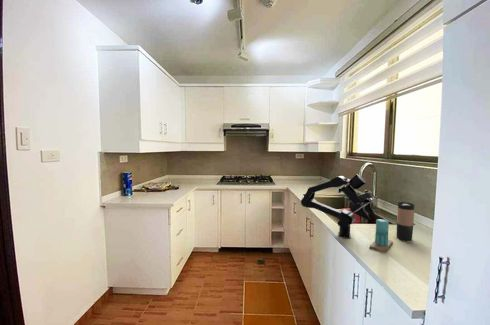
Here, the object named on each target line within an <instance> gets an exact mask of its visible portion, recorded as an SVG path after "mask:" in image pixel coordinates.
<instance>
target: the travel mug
mask: <svg viewBox="0 0 490 325" xmlns="http://www.w3.org/2000/svg"><path fill="white" fill-rule="evenodd" d="M414 219H415V204H414V203H410V202H403V201H402V202H398V203H397V214H396V239H398V240H400V241H403V242H411V241H413V233H414V224H415V223H414V221H415V220H414Z"/></svg>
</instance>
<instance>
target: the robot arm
mask: <svg viewBox="0 0 490 325" xmlns="http://www.w3.org/2000/svg"><path fill="white" fill-rule="evenodd" d="M366 184H367V181H366V180H365V178H364V177H362V176H361V175H359V174H357V173H356V174H355V175H354V176H352V178H350V179H349V178H346V177H345V176H344V175H339V176H336V177H334V178H331V179H330V180H329V181H326V182H324V183H320V184H318V185H313V186H309V187H308V188H307V190H306V192H305V194H304V195H303V197H302V198H301V200H300V204H301V206H302V207H303V208H307V209H308V208H309V209H316V210H318V211H320V212H322V213H325V214H327V215H329V216H332V217H334V218H336V219H337V220H338V221H337V226H338V227H339V230H338V231H337V232H338V237H340V238H346V239H351V238H352V235H351V225H352V224H353V223H355V221H356V215H357V216H359V217H361V218H363V219H365V220H366V221H370V220H371V217H370V216H372V217H374V218H375V217H376V213H375V210H374V209H373V207H372V204H373V203H372V198H374V196H373V192H372V191H370V190H369V189H367V190H365V191H364V192H363V193H360V192H357V191H356V190H359V189H361V188H362V187H364V186H365V185H366ZM330 188H338V194H340V193H343V194H344V196H346V198H347V201H348V202H351V204H353V205H352V206H351V207H350V208H349V210H348V209H345V208H343V209H342V210H338V209H336V208H333V207H331V206H329V205H326V204H324V203H322V202H319V201H318V200H316V198H315V194H316V192H319V191H323V190H326V189H330ZM368 214H369V215H370V216H369V215H368Z"/></svg>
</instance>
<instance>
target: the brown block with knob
mask: <svg viewBox="0 0 490 325" xmlns="http://www.w3.org/2000/svg"><path fill="white" fill-rule="evenodd" d="M393 242H394V241H393V240H391V239H388V245H386V246H385V245H384V246H382V245H378V244H376V243H375V240H374V241H373V242H371V244H370V245H369V249H370V250H374V251H377V252H381V253H386V252H387V251H388V250H389V248H390V247H391V246H392V244H393Z"/></svg>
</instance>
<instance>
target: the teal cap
mask: <svg viewBox="0 0 490 325" xmlns="http://www.w3.org/2000/svg"><path fill="white" fill-rule="evenodd" d="M375 222H376V223H375V232H374V233H375V234H374V236H375V237H374V241H375V243H376V244H378V245H382V246H384V245H385V246H386V245H388V240H389V228H390V226H389V224H390V221H389V220H387V219H381V218H379V219H378V218H377V219H376V220H375Z"/></svg>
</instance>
